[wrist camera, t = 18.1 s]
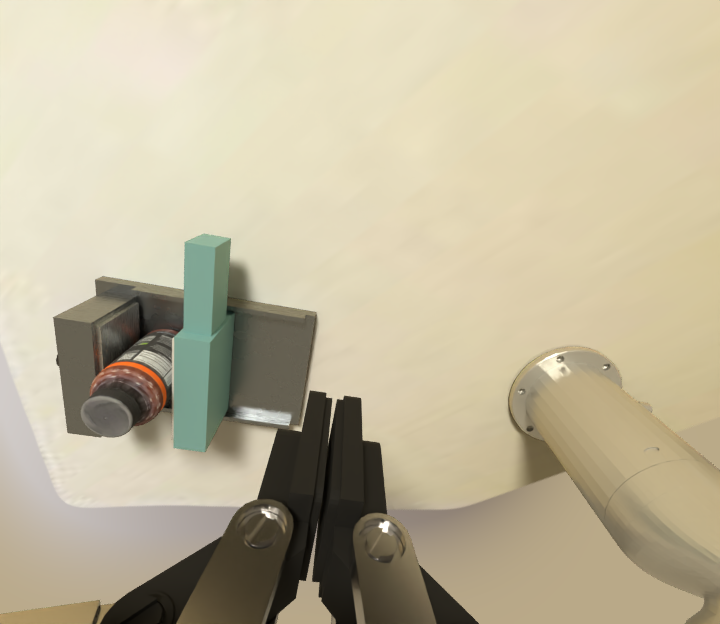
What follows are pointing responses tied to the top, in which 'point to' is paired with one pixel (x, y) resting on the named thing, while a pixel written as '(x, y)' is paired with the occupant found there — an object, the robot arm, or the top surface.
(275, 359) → the vise
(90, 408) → the supplement bottle
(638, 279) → the top surface
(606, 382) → the robot arm
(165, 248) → the top surface
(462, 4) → the top surface
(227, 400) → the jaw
